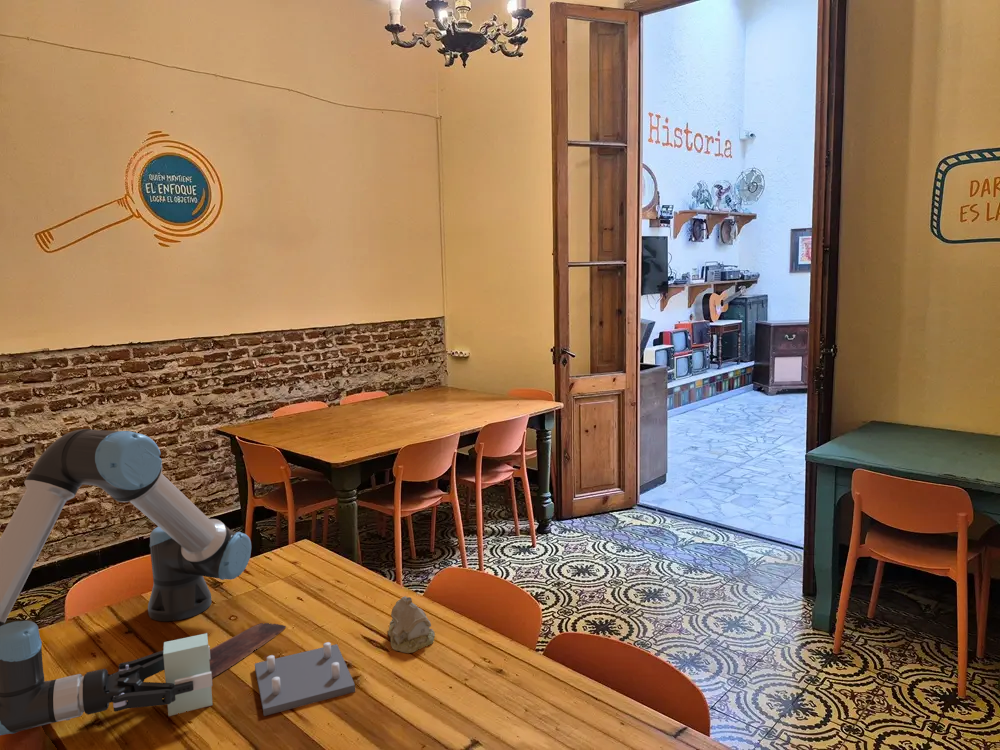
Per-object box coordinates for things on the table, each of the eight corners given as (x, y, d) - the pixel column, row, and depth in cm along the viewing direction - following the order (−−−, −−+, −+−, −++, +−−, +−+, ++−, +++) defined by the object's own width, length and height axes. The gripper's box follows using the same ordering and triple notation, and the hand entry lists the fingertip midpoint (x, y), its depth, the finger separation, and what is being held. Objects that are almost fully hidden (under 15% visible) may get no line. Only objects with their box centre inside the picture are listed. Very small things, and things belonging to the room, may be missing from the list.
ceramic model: (443, 644, 157) (442, 603, 156) (398, 657, 152) (397, 616, 150) (419, 619, 169) (418, 581, 168) (377, 631, 164) (375, 592, 162)
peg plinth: (255, 669, 147) (253, 650, 147) (337, 650, 155) (336, 631, 154) (264, 716, 131) (262, 694, 131) (355, 691, 139) (354, 671, 138)
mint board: (169, 702, 136) (163, 642, 134) (211, 691, 139) (207, 633, 138) (168, 716, 132) (163, 654, 130) (212, 705, 135) (208, 644, 133)
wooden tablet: (261, 616, 170) (291, 620, 165) (263, 625, 170) (292, 628, 165) (170, 671, 146) (201, 676, 142) (172, 680, 146) (203, 686, 142)
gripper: (93, 681, 138) (210, 655, 147) (77, 748, 117) (214, 713, 127) (89, 647, 137) (207, 623, 146) (73, 709, 116) (211, 676, 126)
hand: (210, 665), depth 136 cm, fingers open, 10 cm apart
